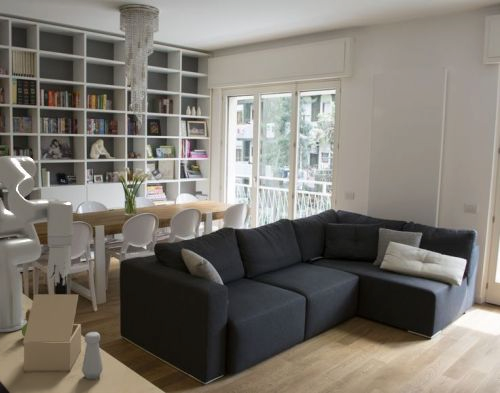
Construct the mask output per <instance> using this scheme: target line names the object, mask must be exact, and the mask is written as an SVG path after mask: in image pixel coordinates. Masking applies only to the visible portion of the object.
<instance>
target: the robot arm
mask: <svg viewBox="0 0 500 393" xmlns="http://www.w3.org/2000/svg"><path fill="white" fill-rule="evenodd" d="M36 173H37V165H36V163H35V161H34V159H32V158H31V157H30V156H26V155H4V156H3V155H2V156H0V187H2V186H3V187H4V188H5V189H6V190H7V191H8V193H7V207H8V209H9V210H8V209H7V208H6V206H5V205H4V201H3V200H2V199H3V198H2V197H0V333H10V332H15V331H18V330H22V328H23V326H24V325H25V324H26V323H27V321H26V318H25V317H24V307H23V306H24V305H23V299H24V298H23V277H22V276H23V275H22V274H21V272H20V270H18V268H16V266H17V265H22V264H28V263H31V262H34V261H37V260H38V259H39V258H41V255H42V244H41V242H40V239H39V236H38V233H37V230H36V227H35V225H36V224H41V223H46V224H47V231H46V232H47V247H49V250H48V261H47V262H48V267H47V268H48V269H47V270H48V271H47V277H48V279H51V278H53V277H54V285H55V286H54V287H55V288H54V290H55V293H54V294H68V274H69V273H70V272H71V269H72V252H71V249H72V248H71V246H73V245H74V214H73V213H74V211H73V208H74V207H73V204H72V202H70V201H64V200H60V199H58V198H54V197H51V198H37V199H25V197H27V196H28V195H29V194H30V193H32V191H33V190H34V188H35V185H36V184H35V180H34V177H35V176H36ZM15 236H16V237H15ZM10 237H12V238H10ZM2 238H6V239H2Z"/></svg>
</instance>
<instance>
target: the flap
mask: <svg viewBox="0 0 500 393" xmlns="http://www.w3.org/2000/svg"><path fill="white" fill-rule="evenodd" d="M78 301H79V294H74V293H73V294H69V293H67V294H55V293H54V294H51V293H49V294H47V293H46V294H39V293H38V294H34V295H33V300H32V302H31V303H32V304H31V311H30V316H29V320H28V324H27V328H26V332H25V336H23V337H24V338H23V341H22V342H23V343H24V342H70V339H71V334H72V328H73V324H75V323H74V322H75V316H76V312H77V311H76V310H77V304H78Z"/></svg>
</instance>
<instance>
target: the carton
mask: <svg viewBox="0 0 500 393" xmlns="http://www.w3.org/2000/svg"><path fill="white" fill-rule="evenodd" d="M81 352H82V324H81V323H73V328H72V334H71V339H70V342H23V364H24V365H23V367H24V368H23V371H24V373H61V372H62V373H63V372H64V373H65V372H67V373H68V372H69V373H70V372H71V371H72V369H73V367H74V365H75V363H76V362H77V359H78V357H79V356H80V354H81Z"/></svg>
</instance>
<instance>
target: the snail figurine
mask: <svg viewBox="0 0 500 393" xmlns="http://www.w3.org/2000/svg"><path fill="white" fill-rule="evenodd" d="M30 311H31V308H28V309H27V310H26V312H25V317H24V318H26V321H27V323H26V324H25V325H24V326H23V328H21V334H22V336H23V337H24V336H25V332H26V328H27V324H28V320H29V316H30Z"/></svg>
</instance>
